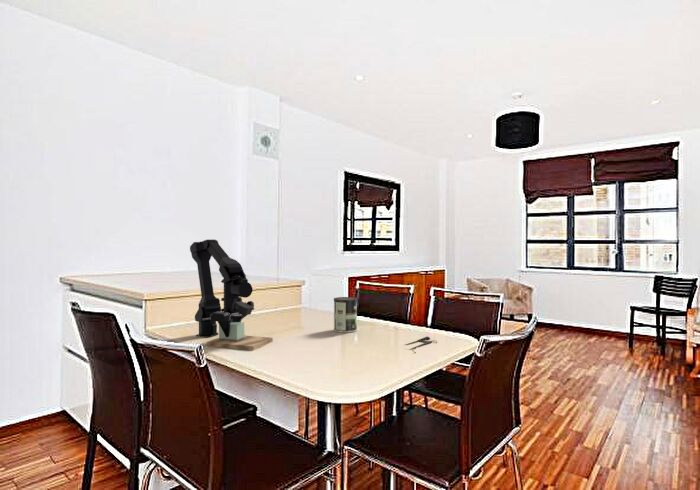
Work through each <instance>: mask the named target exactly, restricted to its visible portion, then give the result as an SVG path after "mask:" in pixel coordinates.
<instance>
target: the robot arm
mask: <svg viewBox="0 0 700 490" xmlns="http://www.w3.org/2000/svg"><path fill="white" fill-rule="evenodd" d="M189 251H190V254H191V257H192V259H193V261H194V262H195V263H196V264H197V266H196V267H197V272H198V279H199V287H200V295H201V298H200V300H199V303H198V309H197V311H196V313H195V315H194V321H195V322H197V323H198V333H197V334H196V337H204V338H205V337H206V338H210V337H214V336H216V335H219V332H217V331H218V326H219V325H220V326H221V328H222V330H223V332H224V334H225V336H226V337H229V331H230V323H231V322H242V320H244V318H246V317H247V316H249V315H250V316H251V314H252V311H254V310H255V303H254V301H252V300H249V301H247V302H244V301H243V299H242V298H249V297H250V296H251V295H252V293H253V289H254V288H253V286H252V284H251V283H250V282H249V279H248V278H247V275H246V274H245V272H244V269H243V266H242V264H241V263H240V262H239V261H238V260H236V259H234V258H232V257H230V256H229V255H228V254H227V252H226V251H225V250H224V248H222V246H221V245H220V243H219V241H218V240H217V239H204V240H202V241H194V242H192V244H190V245H189ZM211 258H213V259H214V260H215V262H216V264H217V265H218V267H219V268H218V271H219V273H220V275H221V276H222V278H223V279H222V280H220V281H221V283H223V297H222V298H221V300H220V298H218V297H216V296H215V294H214V287H213V279H212V273H211V264H210V260H211ZM221 301H223V308H222V307H221ZM217 323H218V324H217Z"/></svg>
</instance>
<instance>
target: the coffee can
mask: <svg viewBox="0 0 700 490" xmlns="http://www.w3.org/2000/svg"><path fill="white" fill-rule="evenodd" d="M357 303H358V298H357V297H354V296H353V297H351V296H339V297H333V331H334V332H336V333H345V334H346V333H354V332H357V331H358V328H357V327H358V322H357V321H358V318H357V316H358V315H357V314H358V310H357V307H358V304H357Z"/></svg>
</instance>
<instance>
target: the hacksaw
mask: <svg viewBox="0 0 700 490" xmlns="http://www.w3.org/2000/svg"><path fill="white" fill-rule="evenodd" d="M430 339H431V338H430V337H429V336H425V337H422V338H420V339H417V340H415V341H412V342H408V343H405V344H404V346H409V345H413V344H417V343H420V342H421V344H418V345H416V346H414V347H411V348H409V349H407V348H406V350H407V351H412V352H414V353H411V354H416V353H417V352H416V351H415V350H416V349H418V348H420V347H424V346H427V345H428V344H429V345H430V344H432V342H433V340H430ZM434 343H435V344H436V343H437V341H434Z"/></svg>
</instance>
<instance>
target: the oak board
mask: <svg viewBox="0 0 700 490" xmlns="http://www.w3.org/2000/svg"><path fill="white" fill-rule="evenodd" d="M273 340H274V339H273V337H266V336H255V335H245V334H244V338H243V339H240V340H238V341H234V340H222V339H219V337H217V338H215V339H211V340H209V341H206V347H214V348H216V347H217V348H222V349H223V348H227V349H235V350H245V351H256V350H257V349H260V348H262V347H264V346H266V345H269V344H270V343H272V342H273Z"/></svg>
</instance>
